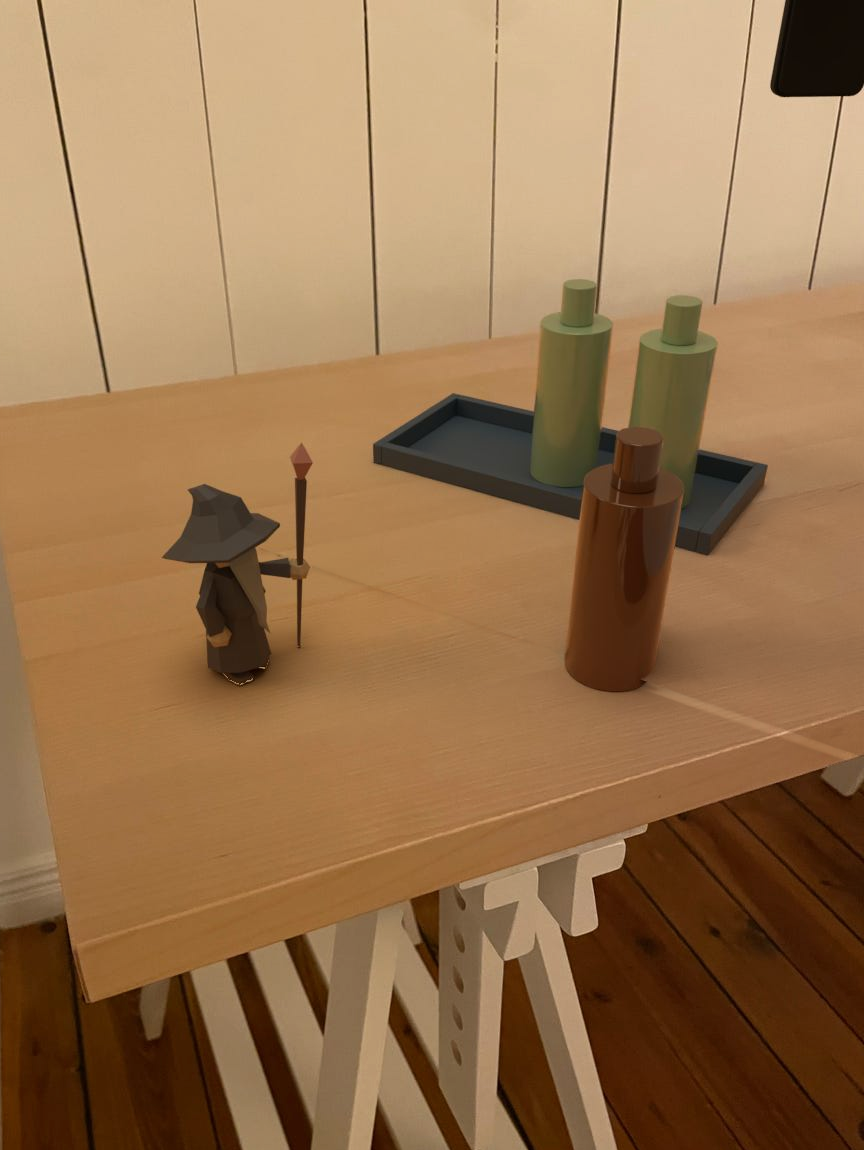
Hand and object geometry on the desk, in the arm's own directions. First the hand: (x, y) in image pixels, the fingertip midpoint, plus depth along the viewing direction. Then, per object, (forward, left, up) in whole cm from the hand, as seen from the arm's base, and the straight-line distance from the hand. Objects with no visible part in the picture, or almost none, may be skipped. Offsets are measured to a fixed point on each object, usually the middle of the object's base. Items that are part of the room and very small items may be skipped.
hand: (863, 115), depth 33 cm
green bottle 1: (+19, -23, -27) cm, 41 cm away
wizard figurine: (+24, +6, -28) cm, 38 cm away
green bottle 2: (+12, -23, -27) cm, 38 cm away
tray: (+19, -23, -28) cm, 41 cm away
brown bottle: (+7, -4, -28) cm, 29 cm away
